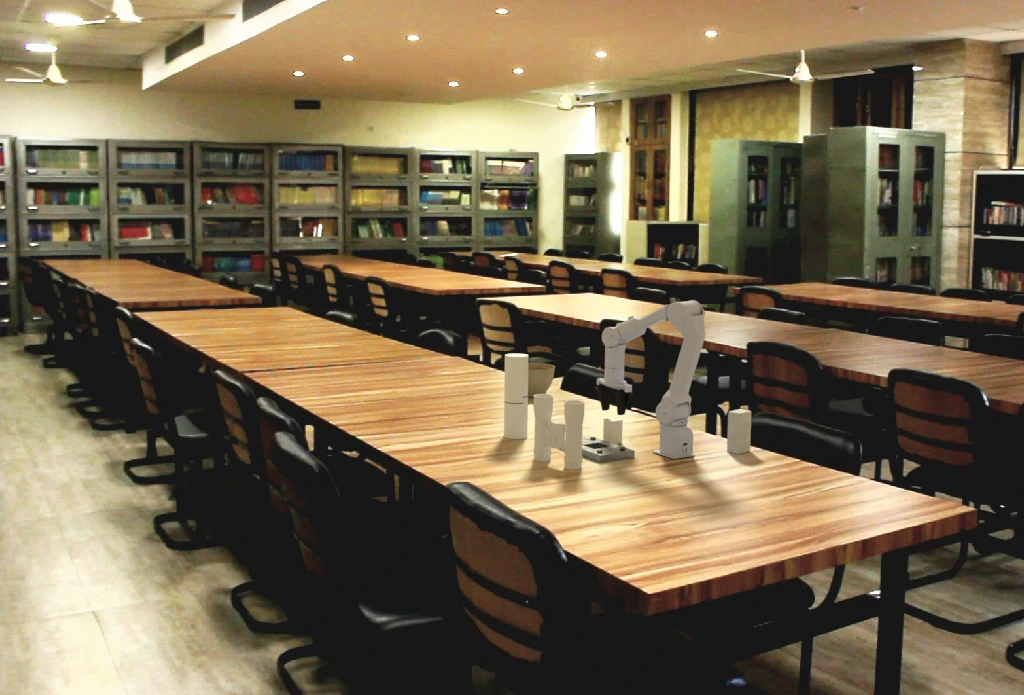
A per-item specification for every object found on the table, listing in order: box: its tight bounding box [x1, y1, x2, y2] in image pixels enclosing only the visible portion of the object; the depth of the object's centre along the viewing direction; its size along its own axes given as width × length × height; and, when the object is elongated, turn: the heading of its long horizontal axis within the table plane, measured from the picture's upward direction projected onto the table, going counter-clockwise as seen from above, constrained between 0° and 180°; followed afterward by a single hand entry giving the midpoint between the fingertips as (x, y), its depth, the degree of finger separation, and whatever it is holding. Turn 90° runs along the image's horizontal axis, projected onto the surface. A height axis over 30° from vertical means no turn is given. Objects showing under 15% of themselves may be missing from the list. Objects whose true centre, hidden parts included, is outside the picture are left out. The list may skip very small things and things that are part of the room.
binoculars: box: [533, 393, 586, 470], centre depth 291 cm, size 17×5×18 cm, turn 43°
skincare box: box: [726, 408, 752, 455], centre depth 308 cm, size 6×4×12 cm
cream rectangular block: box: [602, 417, 624, 445], centre depth 318 cm, size 4×4×7 cm
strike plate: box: [582, 436, 636, 463], centre depth 305 cm, size 20×12×3 cm, turn 32°
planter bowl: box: [528, 362, 556, 398], centre depth 392 cm, size 16×16×11 cm
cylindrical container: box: [503, 353, 529, 440], centre depth 323 cm, size 7×7×25 cm
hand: (613, 412), depth 317 cm, fingers open, 7 cm apart
